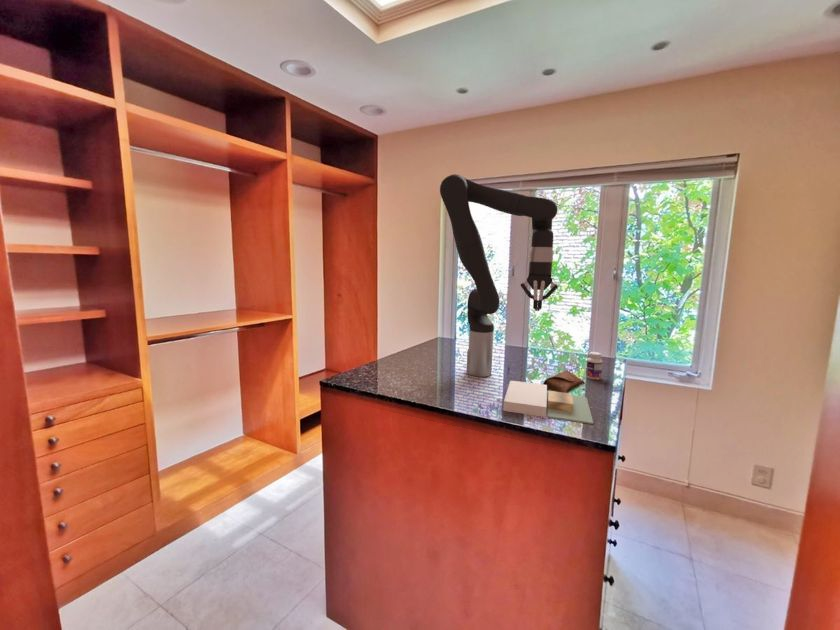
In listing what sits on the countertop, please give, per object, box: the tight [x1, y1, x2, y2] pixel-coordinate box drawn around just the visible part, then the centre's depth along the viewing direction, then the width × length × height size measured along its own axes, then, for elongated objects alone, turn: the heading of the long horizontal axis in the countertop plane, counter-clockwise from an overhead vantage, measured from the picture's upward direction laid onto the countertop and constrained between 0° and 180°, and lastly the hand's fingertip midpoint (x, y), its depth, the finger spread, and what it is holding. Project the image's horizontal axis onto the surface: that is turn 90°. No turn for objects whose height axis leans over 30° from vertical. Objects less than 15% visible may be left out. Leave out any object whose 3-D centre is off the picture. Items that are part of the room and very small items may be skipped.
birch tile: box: [546, 390, 573, 412], centre depth 114 cm, size 7×9×2 cm
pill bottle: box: [585, 351, 604, 380], centre depth 142 cm, size 5×5×10 cm
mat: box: [547, 395, 594, 425], centre depth 114 cm, size 12×20×1 cm, turn 161°
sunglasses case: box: [542, 369, 585, 393], centre depth 134 cm, size 18×7×7 cm, turn 136°
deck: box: [502, 380, 548, 418], centre depth 118 cm, size 12×20×3 cm, turn 161°
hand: (537, 310), depth 130 cm, fingers closed
